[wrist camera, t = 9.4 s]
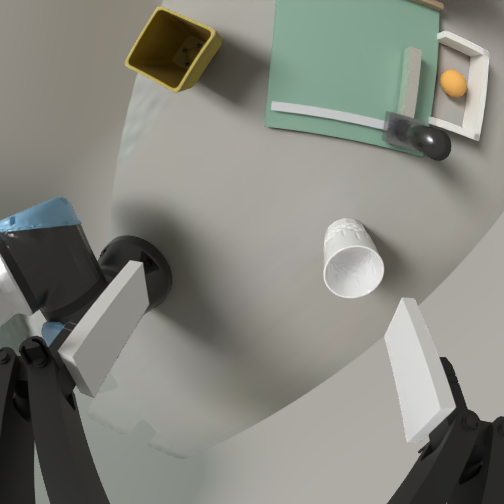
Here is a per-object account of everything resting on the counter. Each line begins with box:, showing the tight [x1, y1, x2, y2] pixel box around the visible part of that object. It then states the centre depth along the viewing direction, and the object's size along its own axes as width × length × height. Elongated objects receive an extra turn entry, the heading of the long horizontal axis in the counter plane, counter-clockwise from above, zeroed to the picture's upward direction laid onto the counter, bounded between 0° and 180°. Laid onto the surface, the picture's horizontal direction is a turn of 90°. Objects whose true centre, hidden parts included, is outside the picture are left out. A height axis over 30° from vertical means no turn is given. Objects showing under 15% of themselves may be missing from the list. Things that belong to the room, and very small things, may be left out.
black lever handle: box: [381, 46, 451, 161], centre depth 25 cm, size 5×14×12 cm, turn 175°
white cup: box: [324, 218, 384, 298], centre depth 40 cm, size 8×8×10 cm
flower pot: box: [125, 6, 222, 93], centre depth 30 cm, size 9×9×9 cm
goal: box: [428, 31, 489, 142], centre depth 28 cm, size 8×14×4 cm, turn 175°
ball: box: [440, 70, 467, 97], centre depth 28 cm, size 4×4×4 cm
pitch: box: [264, 0, 444, 157], centre depth 30 cm, size 22×24×3 cm
